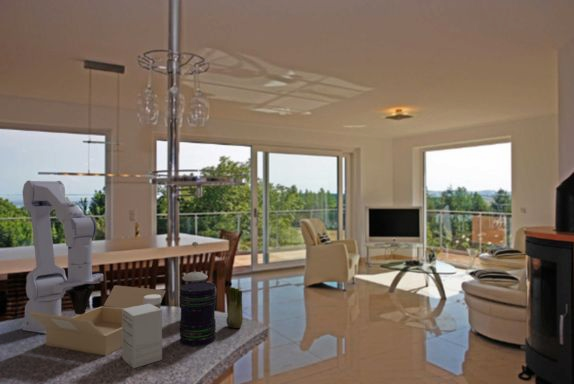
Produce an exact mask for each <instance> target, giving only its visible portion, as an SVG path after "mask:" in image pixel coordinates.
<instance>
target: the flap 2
mask: <svg viewBox="0 0 574 384" xmlns="http://www.w3.org/2000/svg"><path fill="white" fill-rule="evenodd" d="M152 294H157V295H160V296H161V302H162V300H163V298H164V296H165V294H166V290H164V289H155V288H145V287H138V286H137V287H135V286H127V285H117V284H116V285H113V288H112V289H111V291H110V293H109V294H108V297H107V299H106V300H105V302H104V303H103V306H105V307H113V308H121V309H124V308H129V307H134V306H139V305H144V304H143V298H144V296H146V295H152Z"/></svg>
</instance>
